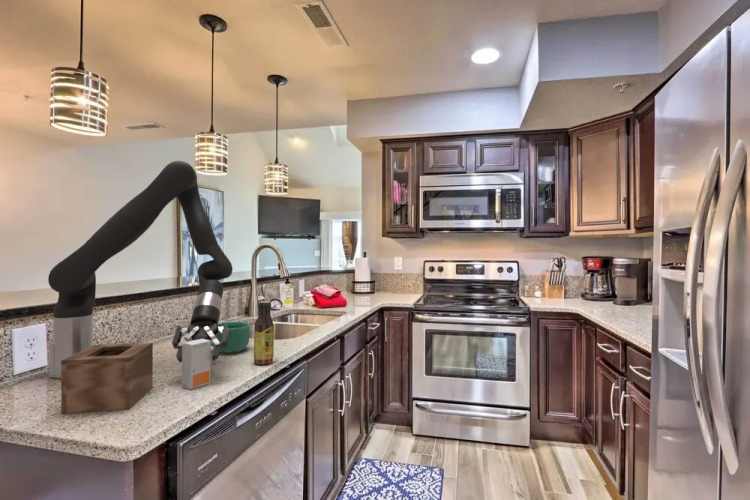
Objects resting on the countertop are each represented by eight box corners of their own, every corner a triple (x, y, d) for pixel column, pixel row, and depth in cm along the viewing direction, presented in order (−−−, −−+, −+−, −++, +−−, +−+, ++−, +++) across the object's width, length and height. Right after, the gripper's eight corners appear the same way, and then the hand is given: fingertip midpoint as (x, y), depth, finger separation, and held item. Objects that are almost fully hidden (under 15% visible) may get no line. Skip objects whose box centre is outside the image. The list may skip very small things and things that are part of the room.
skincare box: (190, 390, 102) (190, 344, 102) (181, 387, 104) (181, 342, 104) (211, 383, 107) (211, 340, 107) (201, 380, 109) (202, 338, 109)
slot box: (61, 413, 87) (61, 360, 87) (94, 390, 101) (94, 344, 101) (129, 409, 90) (129, 357, 90) (152, 387, 104) (152, 342, 104)
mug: (252, 346, 148) (252, 321, 148) (246, 355, 135) (246, 328, 135) (206, 347, 145) (206, 322, 145) (195, 356, 133) (195, 329, 133)
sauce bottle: (268, 366, 123) (268, 303, 122) (249, 365, 124) (250, 302, 124) (277, 360, 129) (277, 300, 129) (260, 359, 130) (260, 300, 130)
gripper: (178, 304, 113) (165, 354, 102) (230, 303, 115) (222, 351, 104) (184, 319, 118) (171, 368, 107) (233, 317, 121) (226, 365, 110)
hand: (197, 360), depth 106 cm, fingers open, 8 cm apart
